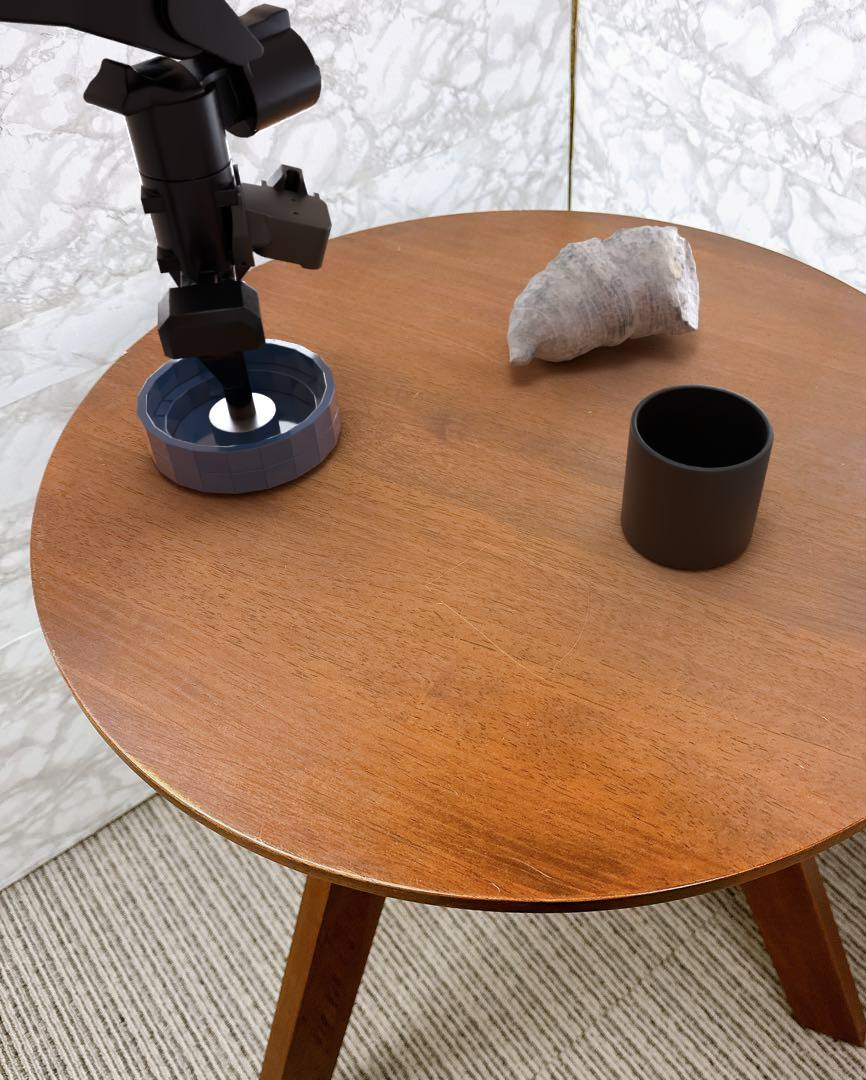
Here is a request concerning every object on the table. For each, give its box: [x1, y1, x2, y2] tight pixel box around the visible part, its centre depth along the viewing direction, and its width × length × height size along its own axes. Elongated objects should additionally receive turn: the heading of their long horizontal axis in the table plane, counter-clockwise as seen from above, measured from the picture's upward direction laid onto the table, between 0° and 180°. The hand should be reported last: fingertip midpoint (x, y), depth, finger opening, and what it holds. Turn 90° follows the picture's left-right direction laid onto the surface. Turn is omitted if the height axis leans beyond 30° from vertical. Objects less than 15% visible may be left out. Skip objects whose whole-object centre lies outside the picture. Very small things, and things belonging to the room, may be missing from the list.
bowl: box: [136, 338, 342, 495], centre depth 78 cm, size 14×14×4 cm
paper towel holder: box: [209, 351, 280, 447], centre depth 75 cm, size 5×5×11 cm
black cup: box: [620, 383, 775, 571], centre depth 71 cm, size 9×12×9 cm
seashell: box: [506, 224, 701, 367], centre depth 86 cm, size 16×15×10 cm
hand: (231, 369), depth 75 cm, fingers open, 4 cm apart
